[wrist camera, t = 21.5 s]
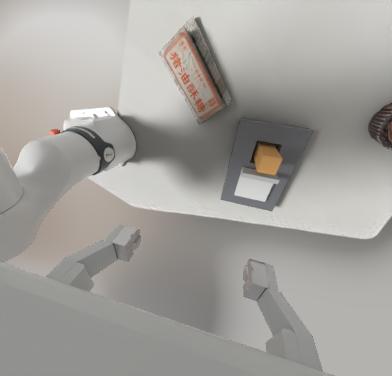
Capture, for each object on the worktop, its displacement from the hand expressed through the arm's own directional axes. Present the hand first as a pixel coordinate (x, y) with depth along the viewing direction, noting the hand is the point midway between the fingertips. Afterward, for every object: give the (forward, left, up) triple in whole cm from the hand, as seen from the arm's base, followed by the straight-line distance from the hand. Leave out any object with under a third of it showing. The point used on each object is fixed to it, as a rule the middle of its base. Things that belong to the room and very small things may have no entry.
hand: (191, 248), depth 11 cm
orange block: (+11, -3, -37) cm, 39 cm away
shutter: (+11, -12, -34) cm, 37 cm away
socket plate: (+11, -8, -37) cm, 39 cm away
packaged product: (-9, +11, -38) cm, 40 cm away
